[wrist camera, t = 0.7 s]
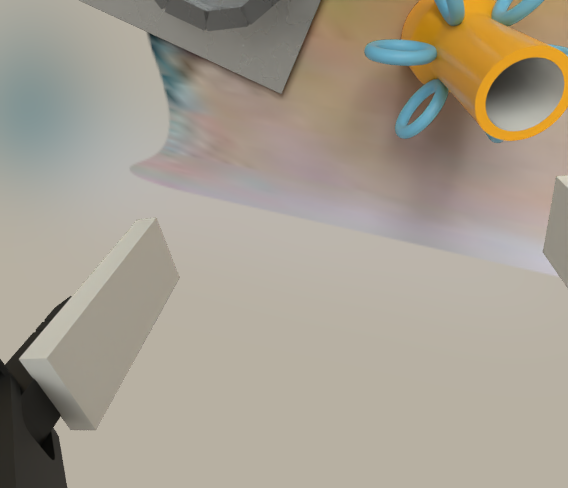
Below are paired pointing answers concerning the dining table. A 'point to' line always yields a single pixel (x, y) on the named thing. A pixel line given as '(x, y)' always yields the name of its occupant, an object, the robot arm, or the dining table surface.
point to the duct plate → (226, 31)
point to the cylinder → (478, 67)
